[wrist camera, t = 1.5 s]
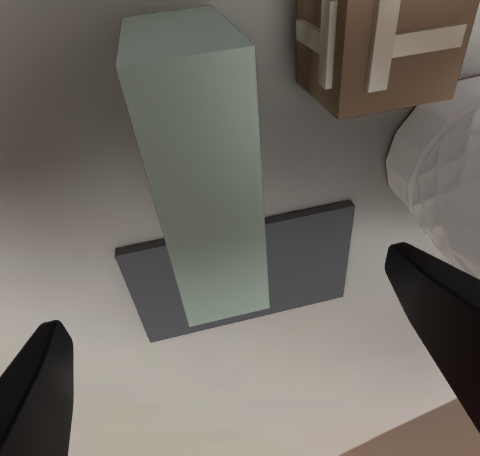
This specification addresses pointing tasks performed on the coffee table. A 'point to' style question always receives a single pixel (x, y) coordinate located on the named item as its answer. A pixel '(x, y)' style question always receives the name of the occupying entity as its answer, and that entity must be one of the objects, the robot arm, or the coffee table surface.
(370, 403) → the coffee table surface
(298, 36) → the letter block
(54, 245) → the coffee table surface
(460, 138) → the white cup
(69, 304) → the coffee table surface
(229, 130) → the sage rectangular block
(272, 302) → the dark gray panel
